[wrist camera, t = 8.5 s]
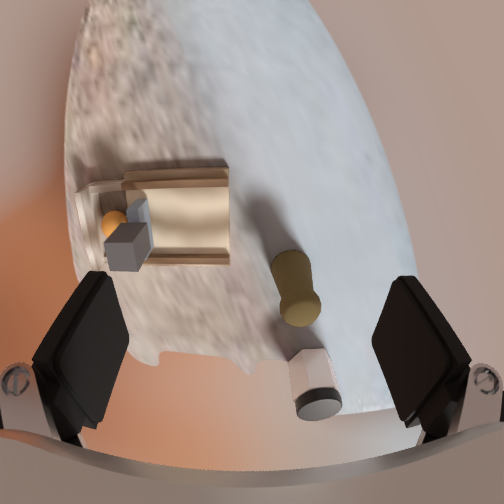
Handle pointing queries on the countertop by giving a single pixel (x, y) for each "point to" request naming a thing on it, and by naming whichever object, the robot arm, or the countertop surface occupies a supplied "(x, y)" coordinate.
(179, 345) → the countertop surface
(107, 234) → the ball
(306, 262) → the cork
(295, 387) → the jar
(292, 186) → the countertop surface
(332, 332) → the countertop surface
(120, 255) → the grey stepped block
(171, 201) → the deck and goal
